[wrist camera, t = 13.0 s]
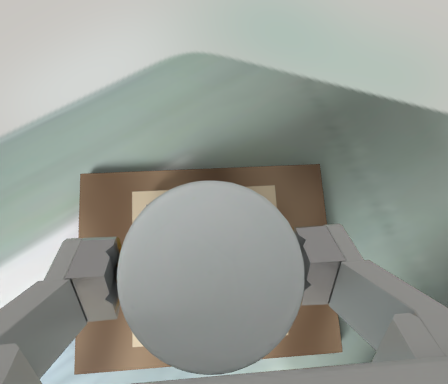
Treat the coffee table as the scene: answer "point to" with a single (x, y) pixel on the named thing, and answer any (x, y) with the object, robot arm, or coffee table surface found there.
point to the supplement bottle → (210, 277)
